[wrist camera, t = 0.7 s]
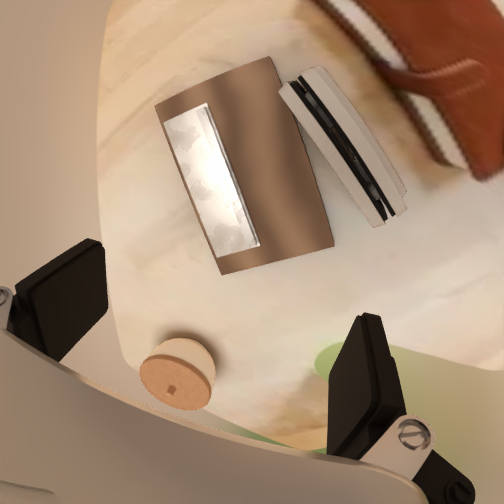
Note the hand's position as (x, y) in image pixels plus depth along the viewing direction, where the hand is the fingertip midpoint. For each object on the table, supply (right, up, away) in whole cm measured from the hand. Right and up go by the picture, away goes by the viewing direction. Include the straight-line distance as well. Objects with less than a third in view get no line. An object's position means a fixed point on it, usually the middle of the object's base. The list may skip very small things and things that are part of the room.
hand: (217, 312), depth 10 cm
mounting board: (0, +11, +23) cm, 26 cm away
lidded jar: (-8, -14, +35) cm, 39 cm away
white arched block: (+12, +14, +20) cm, 27 cm away
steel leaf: (-3, +10, +23) cm, 25 cm away
